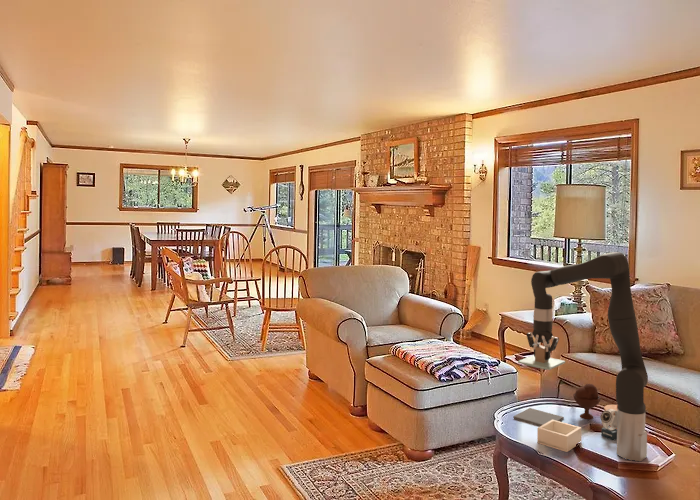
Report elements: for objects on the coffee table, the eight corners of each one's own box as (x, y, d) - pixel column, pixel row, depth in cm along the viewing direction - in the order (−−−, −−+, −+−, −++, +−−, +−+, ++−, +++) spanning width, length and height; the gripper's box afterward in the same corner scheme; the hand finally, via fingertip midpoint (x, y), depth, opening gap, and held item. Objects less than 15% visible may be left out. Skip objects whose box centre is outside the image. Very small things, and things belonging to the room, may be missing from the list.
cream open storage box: (581, 442, 224) (581, 427, 223) (566, 452, 215) (567, 436, 215) (552, 433, 232) (552, 419, 232) (537, 442, 224) (537, 427, 224)
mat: (563, 419, 248) (563, 416, 248) (547, 428, 238) (547, 426, 238) (529, 410, 259) (529, 407, 259) (513, 418, 250) (513, 416, 250)
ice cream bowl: (595, 412, 254) (595, 379, 253) (603, 422, 243) (604, 387, 242) (570, 412, 256) (570, 379, 254) (577, 421, 244) (578, 387, 243)
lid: (565, 365, 241) (565, 347, 240) (549, 372, 231) (550, 353, 230) (534, 358, 251) (534, 341, 250) (518, 365, 241) (518, 347, 240)
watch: (597, 436, 229) (598, 409, 228) (611, 432, 233) (612, 406, 232) (609, 441, 224) (610, 414, 223) (623, 437, 228) (624, 410, 227)
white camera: (633, 425, 240) (634, 403, 239) (630, 434, 231) (630, 411, 230) (605, 420, 245) (606, 399, 245) (601, 429, 236) (602, 406, 236)
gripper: (563, 319, 237) (562, 360, 238) (531, 314, 247) (530, 353, 249) (555, 322, 232) (553, 364, 233) (522, 317, 242) (521, 357, 243)
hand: (541, 358), depth 241 cm, fingers closed on lid, 4 cm apart
